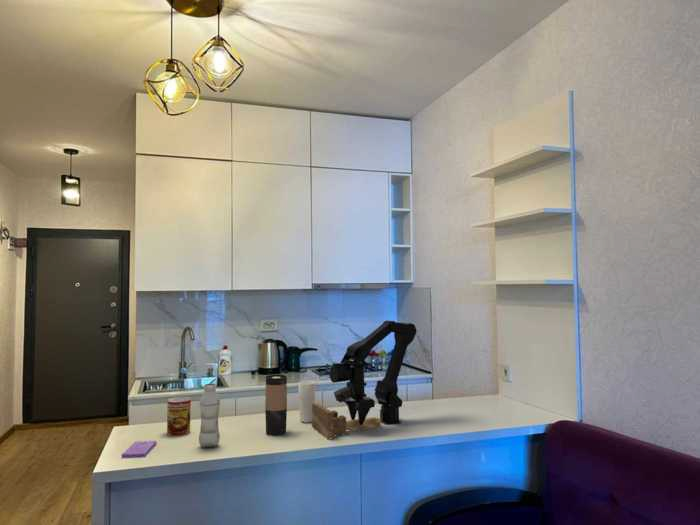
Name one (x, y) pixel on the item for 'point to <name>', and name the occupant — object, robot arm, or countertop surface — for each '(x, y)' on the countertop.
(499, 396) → the countertop surface
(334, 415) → the walnut box
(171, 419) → the canned food
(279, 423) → the travel mug
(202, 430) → the plastic bottle
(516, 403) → the countertop surface
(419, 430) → the countertop surface
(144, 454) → the sponges
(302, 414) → the white cylinder
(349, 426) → the hammer
